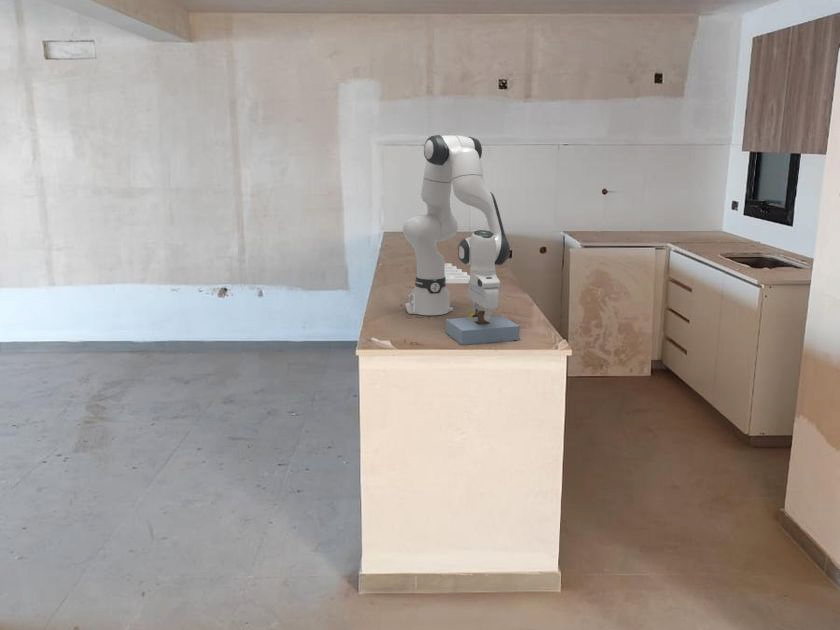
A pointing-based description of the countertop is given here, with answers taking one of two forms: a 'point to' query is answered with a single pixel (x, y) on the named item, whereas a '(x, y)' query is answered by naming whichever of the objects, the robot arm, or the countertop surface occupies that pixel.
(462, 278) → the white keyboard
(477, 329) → the socket block
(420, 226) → the robot arm
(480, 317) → the peg
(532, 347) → the countertop surface
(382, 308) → the countertop surface
